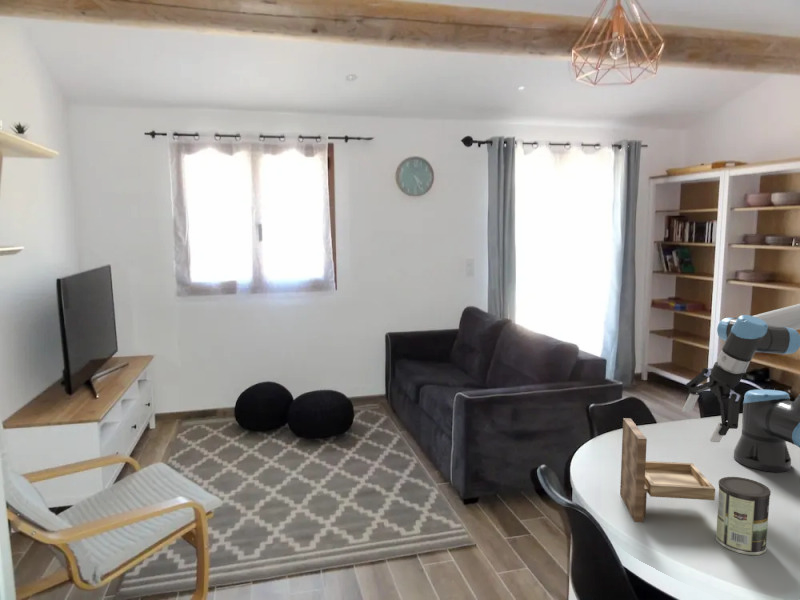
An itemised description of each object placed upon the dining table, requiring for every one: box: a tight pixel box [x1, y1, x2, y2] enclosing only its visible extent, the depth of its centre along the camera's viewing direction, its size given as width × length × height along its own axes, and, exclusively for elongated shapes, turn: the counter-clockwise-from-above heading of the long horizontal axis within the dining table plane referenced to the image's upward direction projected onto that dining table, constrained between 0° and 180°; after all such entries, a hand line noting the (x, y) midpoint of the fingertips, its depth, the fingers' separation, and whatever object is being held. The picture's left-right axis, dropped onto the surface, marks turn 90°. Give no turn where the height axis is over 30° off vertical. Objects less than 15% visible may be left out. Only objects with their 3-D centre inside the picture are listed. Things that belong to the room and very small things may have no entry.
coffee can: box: [715, 476, 772, 556], centre depth 128 cm, size 10×10×14 cm
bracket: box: [619, 417, 716, 523], centre depth 143 cm, size 15×18×22 cm
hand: (699, 425), depth 164 cm, fingers open, 13 cm apart
